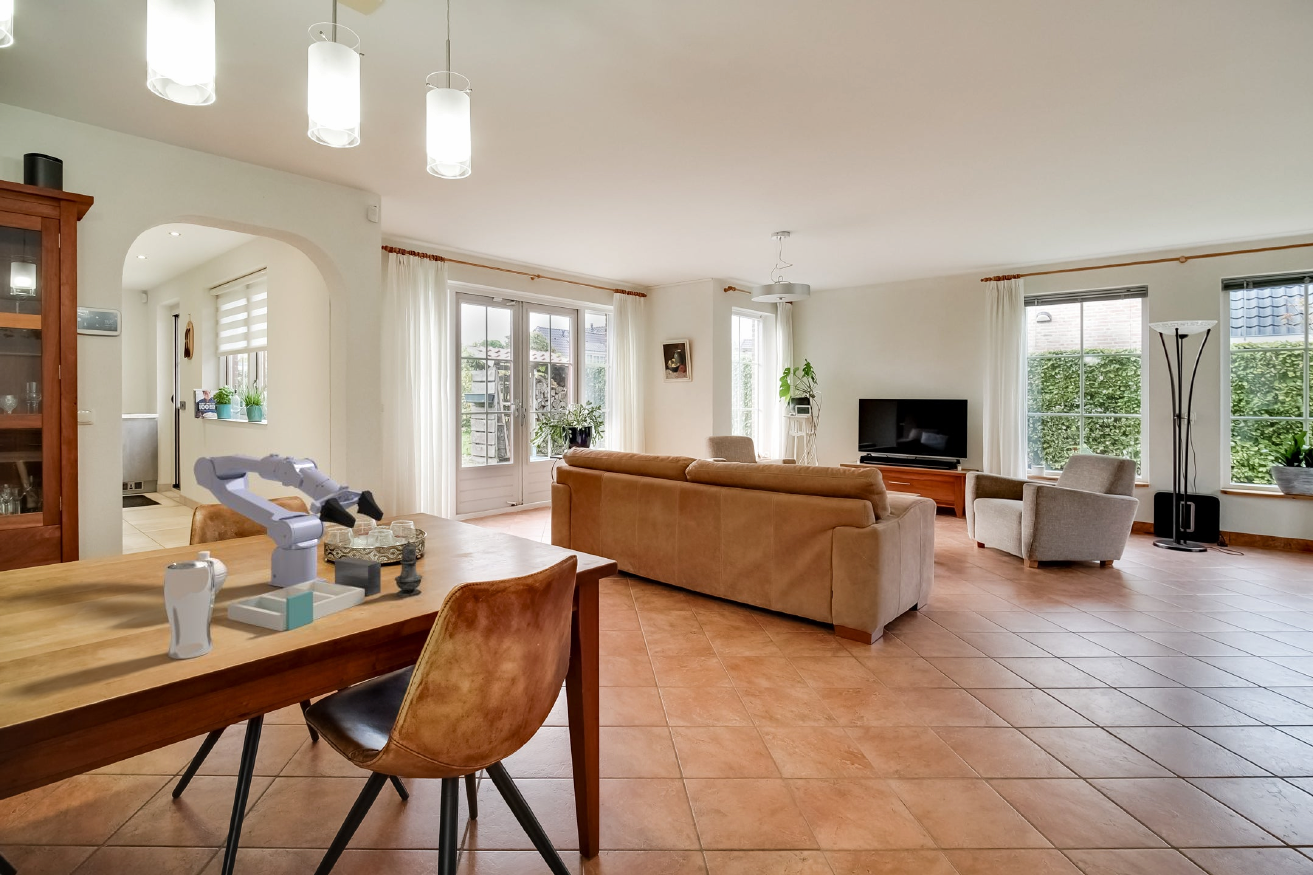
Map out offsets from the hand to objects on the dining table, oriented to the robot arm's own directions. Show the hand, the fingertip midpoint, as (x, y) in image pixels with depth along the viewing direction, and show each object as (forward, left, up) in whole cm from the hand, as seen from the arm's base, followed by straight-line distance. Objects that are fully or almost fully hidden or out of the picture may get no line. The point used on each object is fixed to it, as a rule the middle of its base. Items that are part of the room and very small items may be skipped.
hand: (367, 520), depth 138 cm
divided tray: (-4, -13, -17) cm, 22 cm away
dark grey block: (-4, +1, -17) cm, 17 cm away
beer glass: (-1, -36, -17) cm, 40 cm away
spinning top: (-20, -22, -17) cm, 34 cm away
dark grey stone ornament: (+7, +5, -17) cm, 19 cm away
